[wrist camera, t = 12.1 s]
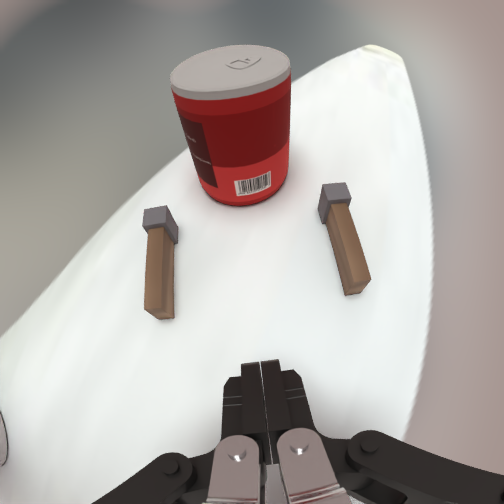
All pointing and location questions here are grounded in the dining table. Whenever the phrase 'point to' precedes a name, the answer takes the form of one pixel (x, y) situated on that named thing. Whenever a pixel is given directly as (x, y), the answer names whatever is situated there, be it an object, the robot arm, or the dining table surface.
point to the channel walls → (162, 262)
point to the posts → (163, 218)
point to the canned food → (236, 120)
